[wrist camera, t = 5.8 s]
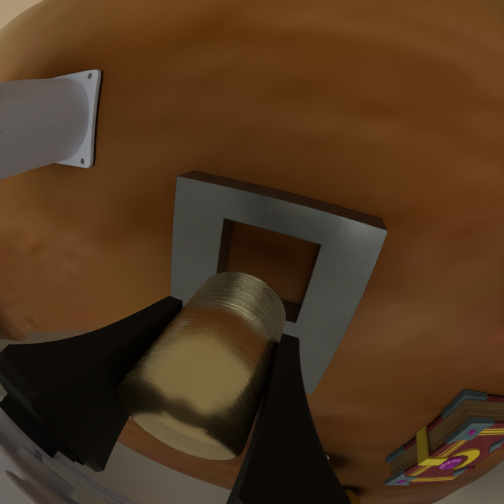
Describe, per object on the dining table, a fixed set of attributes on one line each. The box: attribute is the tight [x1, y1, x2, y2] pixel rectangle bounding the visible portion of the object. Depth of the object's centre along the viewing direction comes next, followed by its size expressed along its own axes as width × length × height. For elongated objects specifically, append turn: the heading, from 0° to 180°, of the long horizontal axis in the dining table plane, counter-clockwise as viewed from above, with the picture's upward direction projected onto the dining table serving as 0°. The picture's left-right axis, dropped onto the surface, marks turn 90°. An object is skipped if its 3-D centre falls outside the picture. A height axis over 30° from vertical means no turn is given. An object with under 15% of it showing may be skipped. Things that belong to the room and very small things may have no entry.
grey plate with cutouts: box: [171, 171, 387, 394], centre depth 19 cm, size 12×14×2 cm
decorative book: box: [385, 390, 504, 485], centre depth 19 cm, size 11×16×5 cm
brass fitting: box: [118, 272, 286, 460], centre depth 9 cm, size 4×4×6 cm
